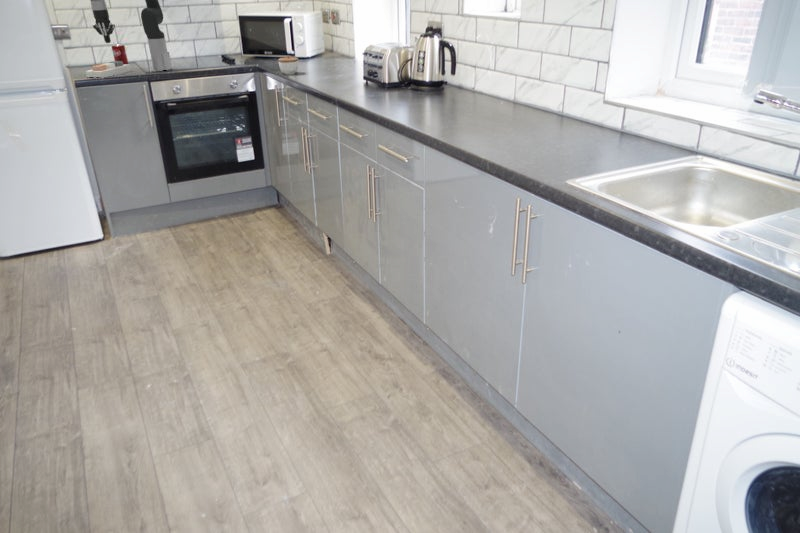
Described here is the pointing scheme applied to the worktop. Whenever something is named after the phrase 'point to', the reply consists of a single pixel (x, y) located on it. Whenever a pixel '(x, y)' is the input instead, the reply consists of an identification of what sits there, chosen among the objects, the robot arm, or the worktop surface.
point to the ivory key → (109, 65)
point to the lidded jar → (288, 65)
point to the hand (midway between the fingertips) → (108, 42)
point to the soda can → (120, 53)
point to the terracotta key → (99, 67)
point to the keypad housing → (109, 71)
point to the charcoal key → (117, 63)
